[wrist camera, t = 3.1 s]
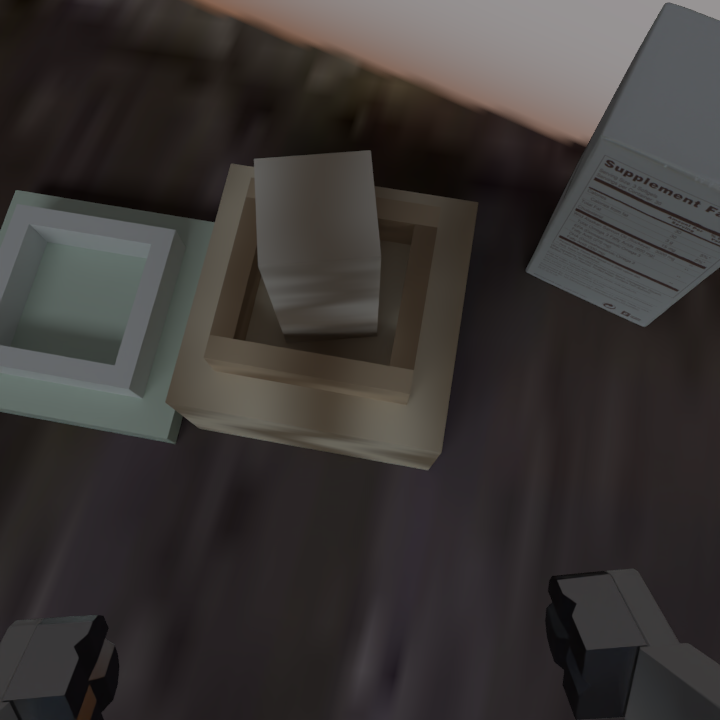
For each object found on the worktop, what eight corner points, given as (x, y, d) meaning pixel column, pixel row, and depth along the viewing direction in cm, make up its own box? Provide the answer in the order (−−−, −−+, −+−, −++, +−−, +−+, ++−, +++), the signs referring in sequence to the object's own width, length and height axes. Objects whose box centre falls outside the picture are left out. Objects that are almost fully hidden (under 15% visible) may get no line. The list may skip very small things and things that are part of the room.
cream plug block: (286, 343, 29) (258, 265, 21) (282, 260, 30) (253, 159, 22) (376, 336, 29) (381, 256, 21) (369, 254, 30) (370, 150, 22)
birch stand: (199, 428, 34) (150, 391, 26) (251, 224, 37) (222, 138, 29) (428, 470, 33) (447, 444, 25) (460, 258, 36) (486, 178, 29)
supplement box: (571, 171, 38) (668, -8, 26) (692, 225, 37) (852, 64, 25) (518, 274, 36) (596, 132, 24) (644, 333, 35) (792, 217, 23)
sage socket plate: (-45, 403, 34) (-90, 386, 31) (29, 204, 37) (-4, 169, 34) (175, 443, 33) (154, 431, 30) (230, 237, 37) (217, 205, 33)
